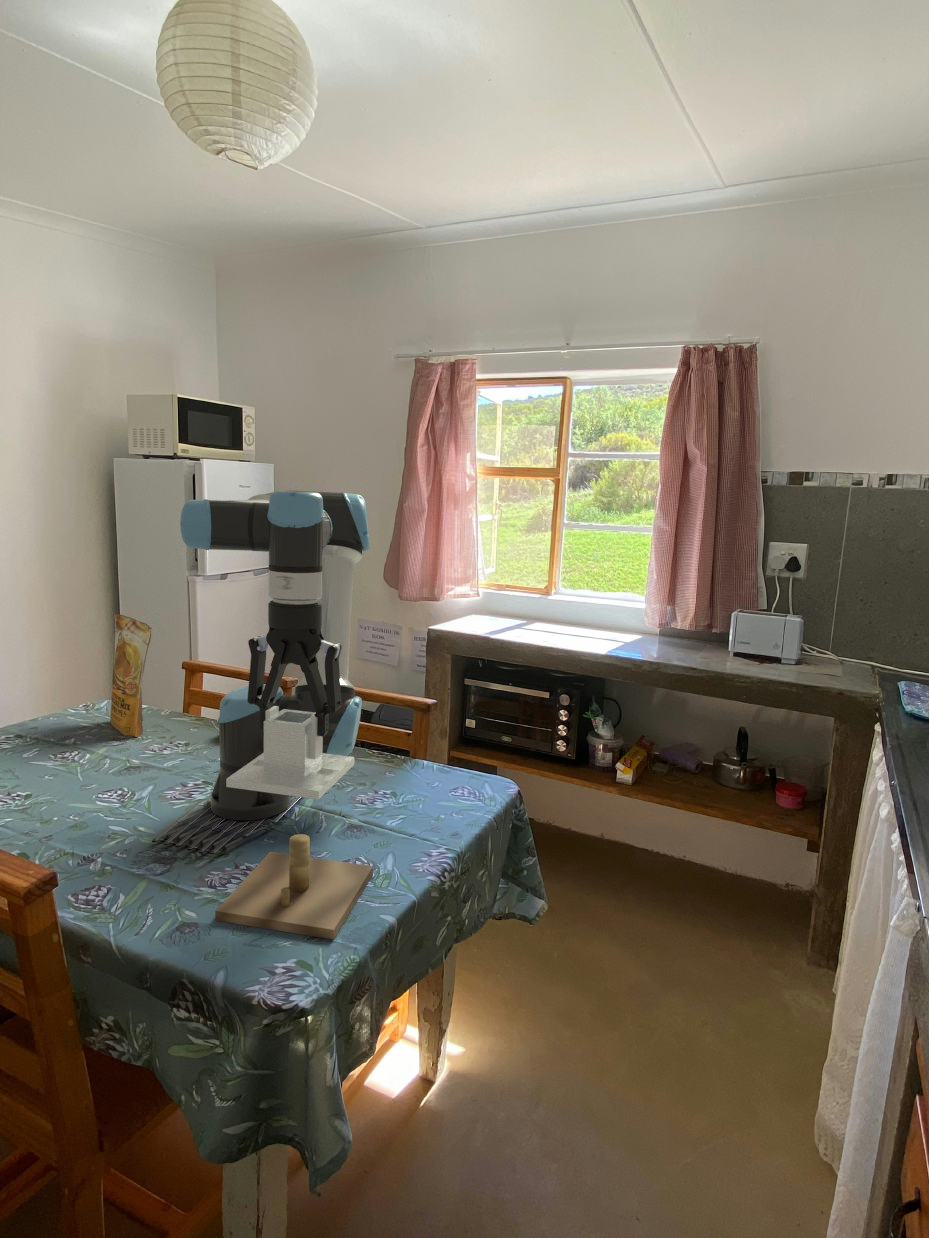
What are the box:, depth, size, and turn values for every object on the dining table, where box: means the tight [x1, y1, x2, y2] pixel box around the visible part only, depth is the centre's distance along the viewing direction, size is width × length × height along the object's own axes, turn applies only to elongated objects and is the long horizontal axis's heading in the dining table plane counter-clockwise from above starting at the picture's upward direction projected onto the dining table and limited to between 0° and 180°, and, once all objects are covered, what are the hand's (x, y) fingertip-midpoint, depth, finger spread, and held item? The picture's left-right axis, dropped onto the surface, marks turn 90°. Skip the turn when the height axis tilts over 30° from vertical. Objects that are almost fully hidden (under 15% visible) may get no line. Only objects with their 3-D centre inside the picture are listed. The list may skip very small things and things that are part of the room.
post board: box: [214, 833, 374, 940], centre depth 111 cm, size 18×18×10 cm
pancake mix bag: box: [109, 613, 153, 738], centre depth 180 cm, size 7×19×28 cm, turn 42°
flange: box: [226, 709, 355, 800], centre depth 107 cm, size 14×14×9 cm
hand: (294, 752), depth 108 cm, fingers closed on flange, 6 cm apart
